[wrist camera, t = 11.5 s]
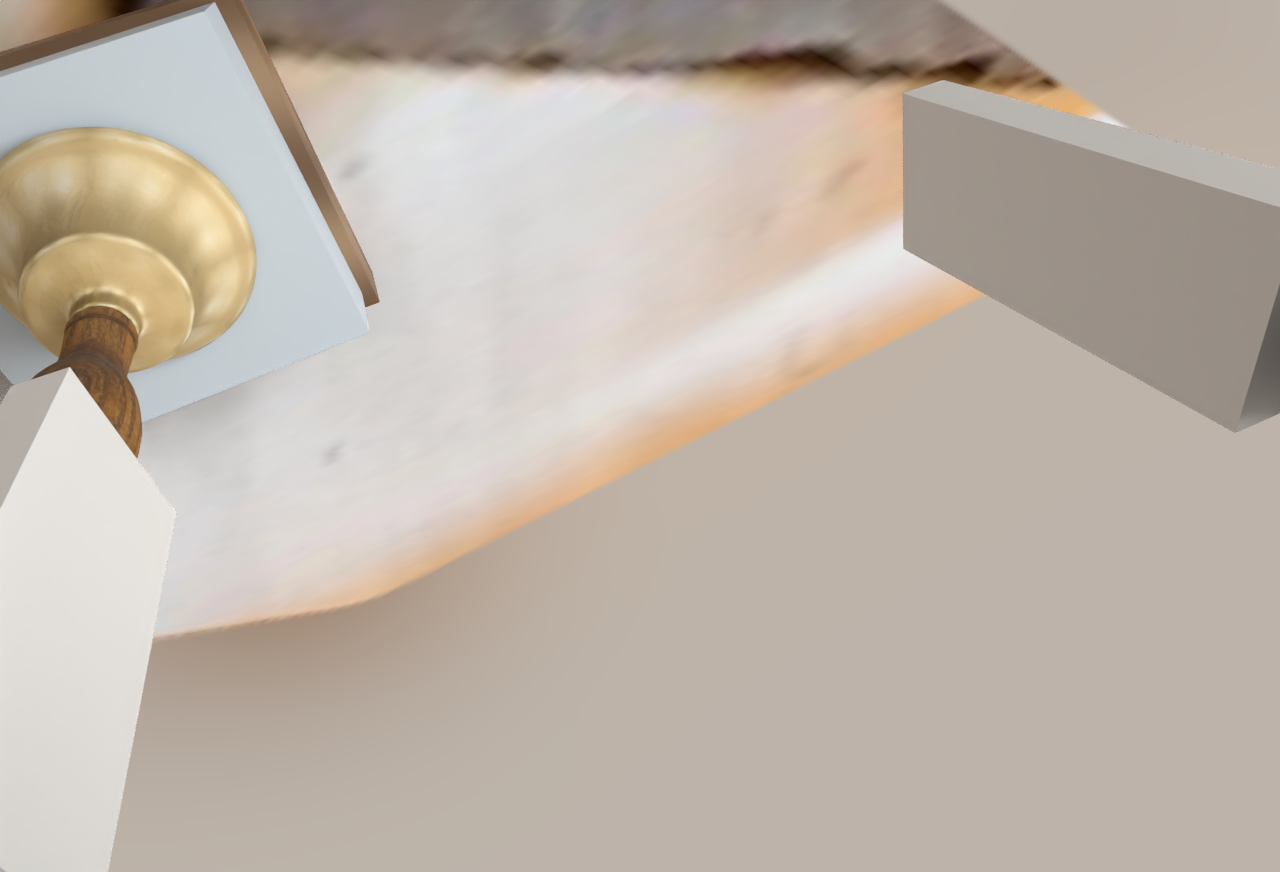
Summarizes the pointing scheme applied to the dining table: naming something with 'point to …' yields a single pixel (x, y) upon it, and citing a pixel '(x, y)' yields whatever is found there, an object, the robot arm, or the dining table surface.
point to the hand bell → (119, 257)
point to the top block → (232, 150)
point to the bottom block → (269, 86)
